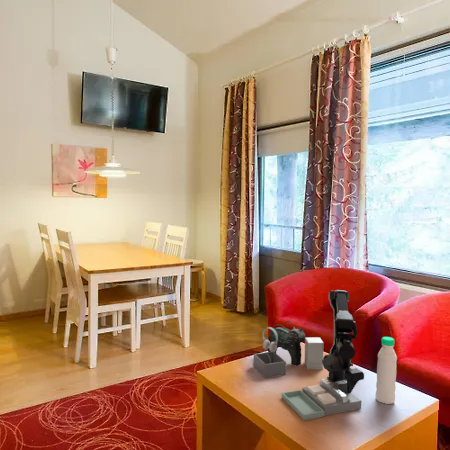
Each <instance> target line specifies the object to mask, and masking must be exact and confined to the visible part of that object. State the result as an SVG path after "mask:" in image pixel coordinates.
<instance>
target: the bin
mask: <svg viewBox="0 0 450 450" xmlns="http://www.w3.org/2000/svg"><path fill="white" fill-rule="evenodd" d="M281 398H282V400H283V401H284V402H285V403H286V404H287V405H288V406H289V407H290V408H291V409H292V410H293V411H294V412H295V413H296V414H297V415H298V416H299V417H300V418H301V419H302V420H303V421H310V420H314V419H320V418H324V417H325V416H326V415H325V411H324V410H323V409H322V408H321V407H319V406H318V405H317V404H316V403H315V402H314V401H313V400H312V399H311V398H309V397H308V396H307V395H306V394H305V393H304V392H303V391H302V389H295V390H290V391H284V392H281Z"/></svg>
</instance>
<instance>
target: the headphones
mask: <svg viewBox="0 0 450 450" xmlns="http://www.w3.org/2000/svg"><path fill="white" fill-rule="evenodd" d="M266 330H270V331H273V332H274V334H275V336H276V342H271V344H270V341H269V340H268V339H267V338H266V337H265V332H266ZM261 332H262V333H261V336H262V341H263V343H262V349H264V350H265V352H264V353H266V352H267V351H268V349H270V351H271V352H275V351H276V349H277V350H278V348H277V341H278V334H277V332H276V331H275V328H274V327H273V328H272V327H271V326H268V327H266V328H264V329H263V330H262V331H261ZM276 352H277V351H276ZM266 354H267V353H266ZM267 355H268V354H267ZM268 357H269V356H268ZM269 358H270V357H269ZM270 362H271V360H270ZM269 364H270V363H269Z"/></svg>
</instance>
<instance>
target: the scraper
mask: <svg viewBox="0 0 450 450" xmlns="http://www.w3.org/2000/svg"><path fill="white" fill-rule="evenodd" d="M331 383H332V382H331V381H330V380H327V378H320V382H319V385H321V386H322V387H323V388H324V389H326V390H327V391H328V392H329V393H331V394H332V395H333V396H334V397H336V398H337V399H338V400H339V401H340V402H342V403H347V399H348V396H347V395H346V394H344V393H348V391H347V380H341V381H336V382H334V385H333V384H331Z"/></svg>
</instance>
